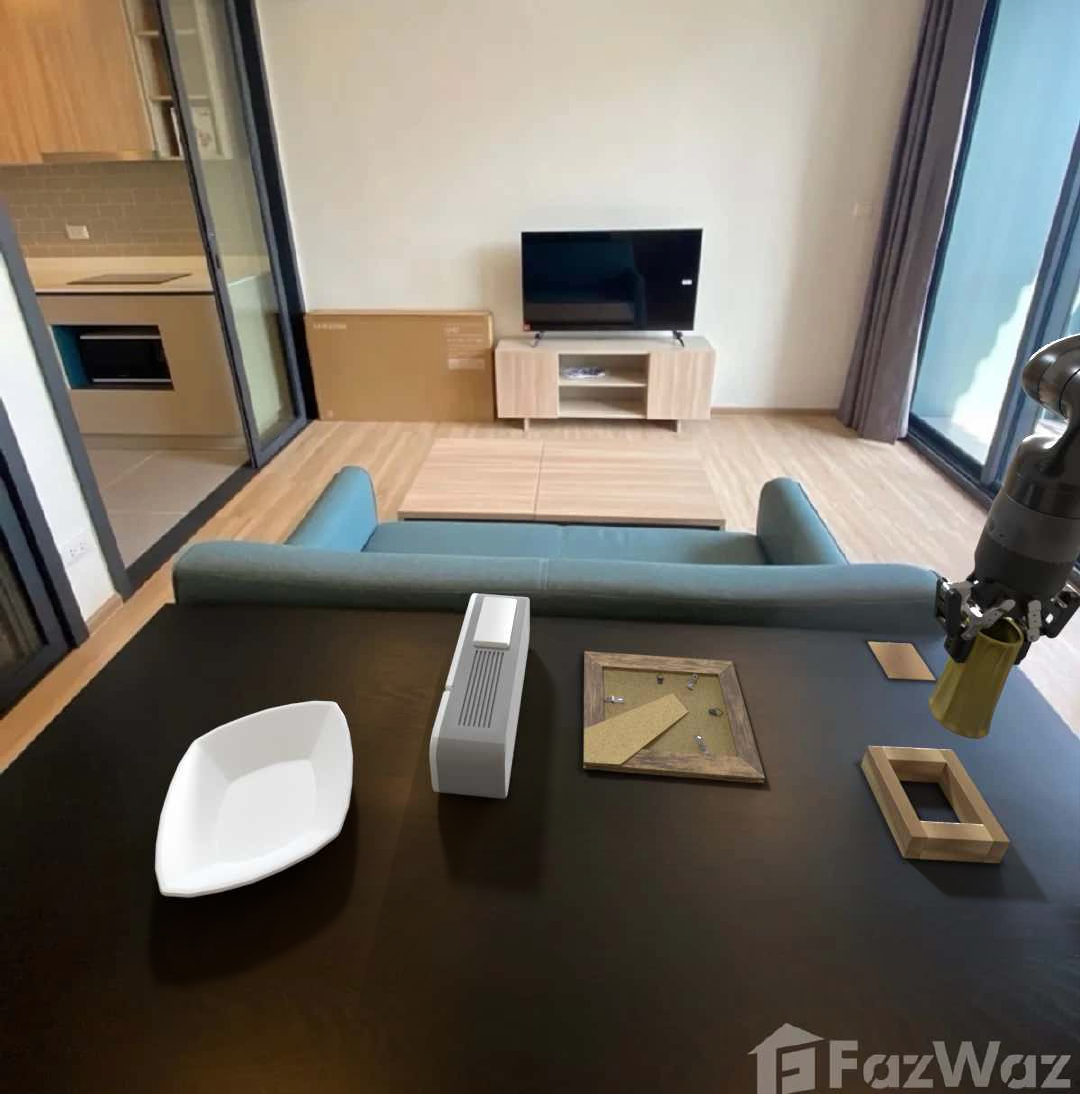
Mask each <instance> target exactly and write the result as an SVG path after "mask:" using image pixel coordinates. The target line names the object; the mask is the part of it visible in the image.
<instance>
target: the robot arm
mask: <svg viewBox="0 0 1080 1094" xmlns="http://www.w3.org/2000/svg"><path fill="white" fill-rule="evenodd" d="M1020 384H1021V388H1022V390H1023V392H1024V393H1025V395H1026V396H1027V397H1028V398H1029V399H1030V400H1032V402H1034V403H1035V404H1037V405H1039V406H1040V407H1042V408H1043V409H1045V410H1047V411H1049V412H1051V413H1053V415H1054V414H1055V416H1058V417H1060V418H1061V419H1063V420H1065V421H1067V427H1066V429H1065V430H1064V432H1063V433H1062V435H1057V434H1051V433H1049V434H1048V433H1040V434H1039V433H1038V434H1032V435H1029V436H1027V437H1025V438H1024V439H1022V441H1020V442H1019V444H1018V445H1017V447H1016V448H1015V450H1014V452H1013V455H1012V458H1011V461H1010V462H1009V466H1008V469H1007V471H1006V474H1005V477H1004V480H1003V482H1002V485H1001V487H1000V488H999V489H1000V490H999V491H998V493H997V495H996V496H995V498H994V500H993V501H992V504H991V506H990V509H989V511H988V514H987V518H986V520H985V523H984V525H983V528H982V531H981V534H980V536H979V539H978V542H977V545H976V548H975V550H974V553H973V558H974V559H973V560H974V561H973V562H974V568H973V570H972V571H971V573H969V574H968V575H967V577H966V578H965V580H963V581H962V580H961V581H954V582H953V581H950V579H948V577H945V576H941V577H939V578H938V579H937V580H936V586H935V598H934V611H933V617H934V618H935V620H936V621H937V622H938V623H939V625H940V626H941V628H942V629H943V630H944V631H945V632H946V637H945V640H944V642H943V649H944V650H945V651H946V652H947V654H948V656H949V655H950V656H951V658H952V659H953V660H954V662H955V663H964V662H965V660H966V657H967V655H968V652H969V650H970V647H971V645H972V642H973V640H972V638H973V637H974V636H975V635H976V634H977V633H978V632H979V631H980V630H981V629H982V628H986V629H988V628H990V627H991V626H992V625H993V624H994V623H995V621H996V620H997V619H998V618H1005V617H1007V618H1009V619H1011V620H1012V621H1013V622H1014V623H1015V624H1016V625H1017V626H1018V627H1019V628H1020V629H1021V631H1022V633H1023V635H1024V640H1023V644H1022V646H1021V648H1020V650H1019V652H1018V654H1017V657H1016V659H1015V662H1014V664H1013V666H1020V664H1021V662H1022V661H1023V660H1024V659H1025V658H1026V657H1027V655H1028V652H1029V650H1030V649H1031V647H1032V643H1035V642H1038V641H1039V640H1040V637H1046V638H1048V639H1055V638H1057V637H1058V636H1059V635H1060V634H1061V632H1062V631H1063V630H1064V629H1065V627H1066V625H1068V623H1069V621H1070V620H1071V619H1072V617H1073V616H1074V615H1075V613H1076V612H1077V611H1078V610H1079V608H1080V593H1078V591H1077V590H1076V589H1074V588H1073V587H1072V586H1071V585H1070V584H1068V583H1067V582H1068V579H1069V578H1070V575H1071V573H1072V571H1073V569H1074V566H1075V564H1076V562H1077V559H1078V557H1079V555H1080V333H1078V334H1074V335H1070V336H1066V337H1063V338H1061V339H1057V340H1056V341H1053V342H1051V343H1050V344H1047V345H1045V346H1044V347H1042V348H1041V349H1039V350H1038V351H1037V352H1035V353H1034V354H1033V355H1032V356H1031V357H1030V358H1029V359H1028V361H1027V362H1026V363H1025V365H1024V366H1023V368H1022V371H1021V374H1020ZM976 605H977V606H976ZM977 607H978V608H977ZM977 609H981V610H982V611H983V612H984V614H983V615H982V614H981V613H980V612H979V611H978V610H977ZM1050 615H1051V616H1052V619H1051V621H1050V622H1049V621H1048V620H1047V618H1048V617H1049V616H1050ZM968 617H970V619H971V621H970V622H969V623H968V624H967V625H966V624H965V623H964V621H965V620H966V619H967V618H968Z"/></svg>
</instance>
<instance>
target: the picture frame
mask: <svg viewBox="0 0 1080 1094" xmlns="http://www.w3.org/2000/svg"><path fill="white" fill-rule="evenodd" d="M583 653H584V654H583V659H584V662H583V757H582V758H583V763H582V764H583V766H582V767H583V770H589V771H590V770H591V771H604V772H616V773H628V774H639V775H640V774H641V775H653V776H665V777H666V776H667V777H679V778H691V779H702V780H703V779H704V780H717V781H727V782H728V781H729V782H741V783H752V784H764V781H765V778H766V777H765V773H764V769H763V766H762V762H761V759H760V755H759V752H758V749H757V745H756V740H755V738H754V737H755V736H754V733H753V730H752V727H751V722H750V720H749V716H748V712H747V709H746V704H745V702H744V701H745V700H744V698H743V695H742V690H741V687H740V683H739V680H738V676H737V673H736V669H735V666H734V662H733V661H732V660H721V659H720V660H719V659H707V658H705V659H704V658H689V657H676V656H675V657H674V656H662V655H661V656H659V655H645V654H630V653H616V652H601V651H599V652H598V651H587V650H584V652H583Z"/></svg>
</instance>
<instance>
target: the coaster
mask: <svg viewBox="0 0 1080 1094" xmlns="http://www.w3.org/2000/svg"><path fill="white" fill-rule="evenodd" d="M867 644H868V646H869V647H870V649H871V651H872V652H873V654H874V656H875V657H876V659H877V661H878V663H879V665H880V666H881V668H882V670H883V671H884V672H885V674H886V676H887V678H888V679H890V680H910V681H913V680H914V681H935V682H936V681H937V679H936V678H935V676H934V675H933V674H932V672H931V671H930V669H929V668H928V666H927V664H926V663H925V662H924V660H923V658H922V657H921V656H920V655H919V653H918V652H917V650H916V649H915V647H914V646H913V644H912V643H904V642H903V643H900V642H878V641H877V642H875V641H867Z"/></svg>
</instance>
